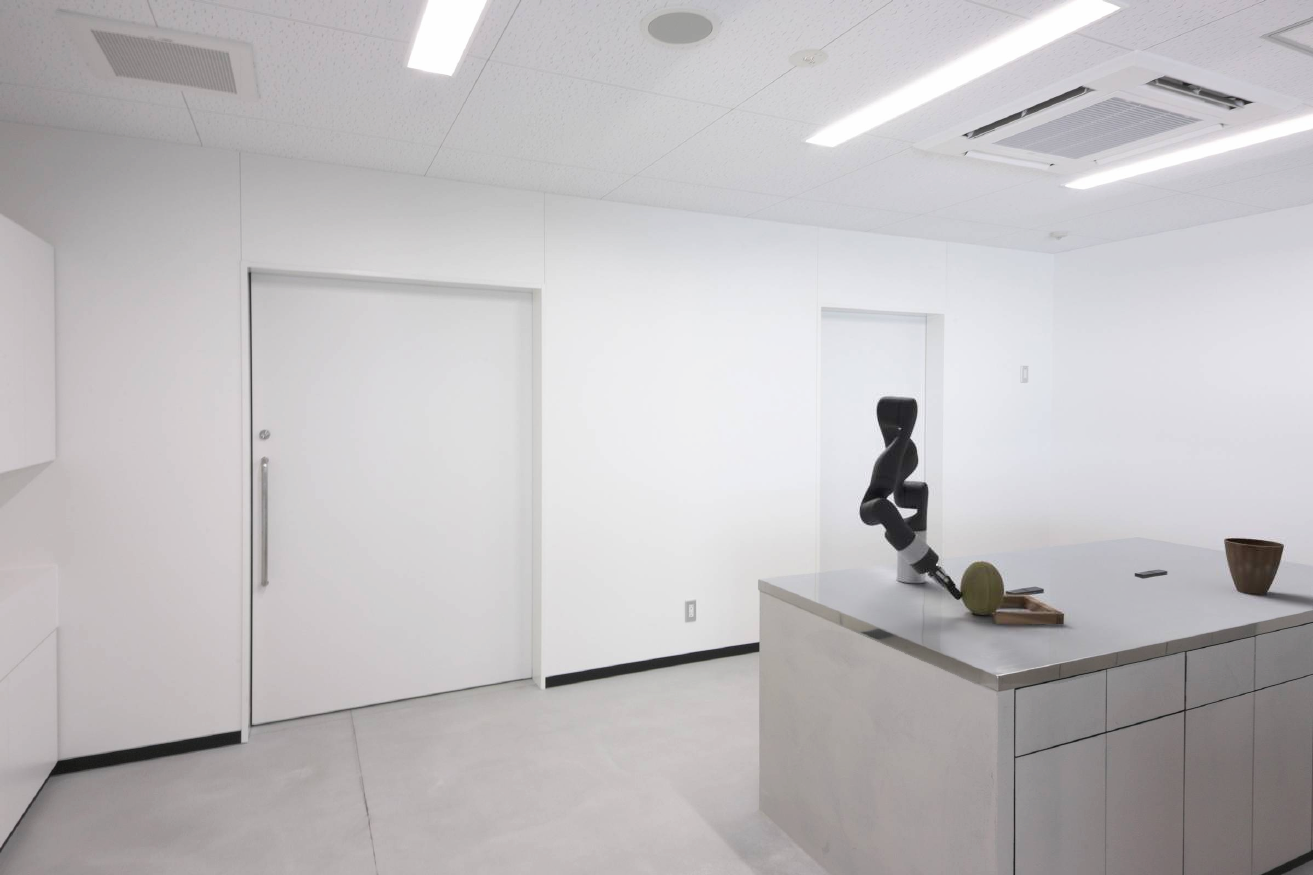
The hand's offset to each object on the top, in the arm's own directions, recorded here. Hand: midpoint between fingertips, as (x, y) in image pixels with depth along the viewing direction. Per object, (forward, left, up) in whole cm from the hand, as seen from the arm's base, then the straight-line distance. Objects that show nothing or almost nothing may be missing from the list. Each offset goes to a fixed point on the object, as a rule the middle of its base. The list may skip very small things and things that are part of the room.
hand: (959, 597), depth 213 cm
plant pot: (-26, +103, -5) cm, 106 cm away
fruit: (0, +6, -5) cm, 8 cm away
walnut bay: (0, +14, -5) cm, 15 cm away
